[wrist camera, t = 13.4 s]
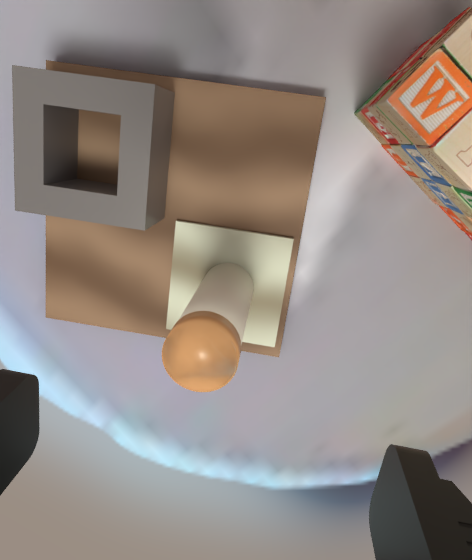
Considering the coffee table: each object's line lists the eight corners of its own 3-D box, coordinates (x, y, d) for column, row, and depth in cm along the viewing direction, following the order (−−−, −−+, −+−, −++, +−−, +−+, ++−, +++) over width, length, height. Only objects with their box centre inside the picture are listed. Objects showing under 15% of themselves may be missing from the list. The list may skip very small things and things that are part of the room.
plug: (205, 258, 35) (164, 316, 23) (257, 266, 34) (243, 328, 23) (200, 307, 36) (159, 385, 24) (250, 315, 36) (233, 397, 24)
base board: (56, 63, 33) (43, 59, 32) (324, 99, 32) (326, 96, 30) (54, 310, 40) (43, 319, 38) (279, 349, 38) (278, 359, 36)
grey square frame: (52, 76, 32) (12, 65, 28) (174, 92, 32) (155, 84, 27) (52, 201, 35) (15, 210, 30) (164, 218, 34) (144, 230, 30)
